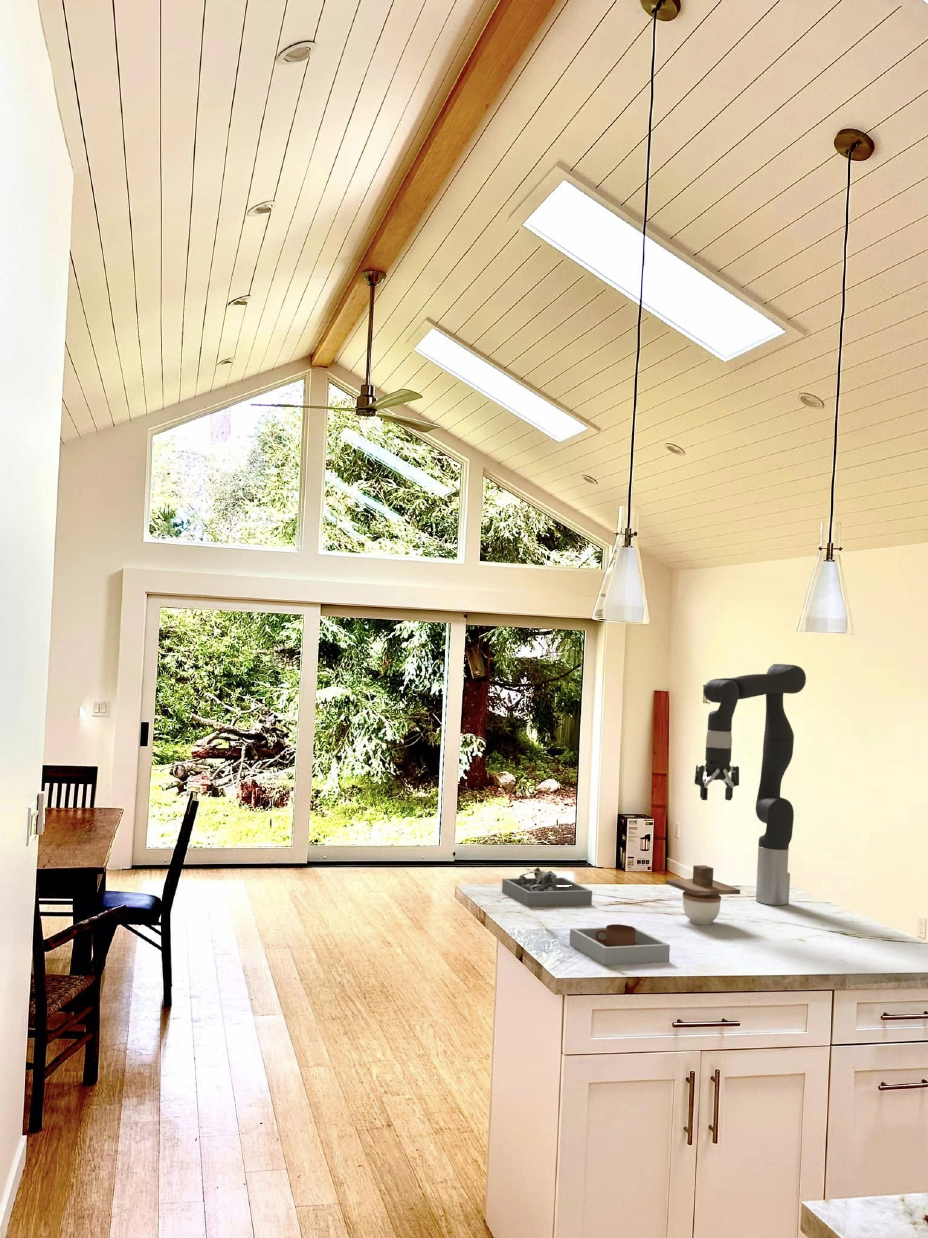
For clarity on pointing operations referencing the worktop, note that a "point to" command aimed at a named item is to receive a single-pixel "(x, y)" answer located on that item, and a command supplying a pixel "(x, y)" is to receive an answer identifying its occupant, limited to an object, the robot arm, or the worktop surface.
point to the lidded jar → (701, 907)
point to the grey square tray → (619, 948)
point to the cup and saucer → (618, 936)
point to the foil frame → (549, 893)
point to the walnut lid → (702, 883)
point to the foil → (538, 881)
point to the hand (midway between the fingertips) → (716, 800)
